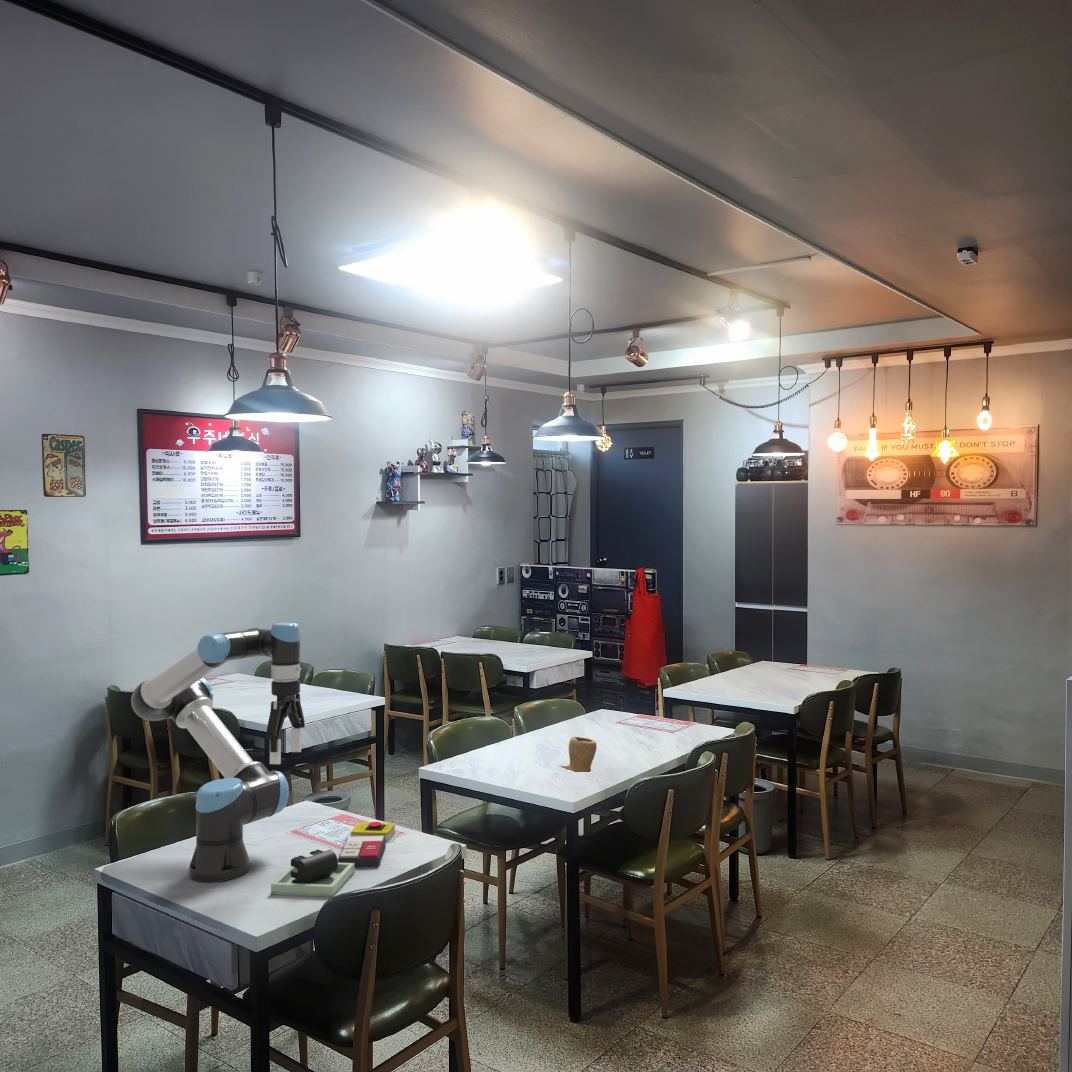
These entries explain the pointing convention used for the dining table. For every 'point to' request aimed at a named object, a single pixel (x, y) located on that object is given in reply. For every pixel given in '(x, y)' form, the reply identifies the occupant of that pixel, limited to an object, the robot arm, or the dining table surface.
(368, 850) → the button switch box
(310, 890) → the sage tray
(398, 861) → the dining table surface
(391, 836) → the emergency button
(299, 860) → the end cap
